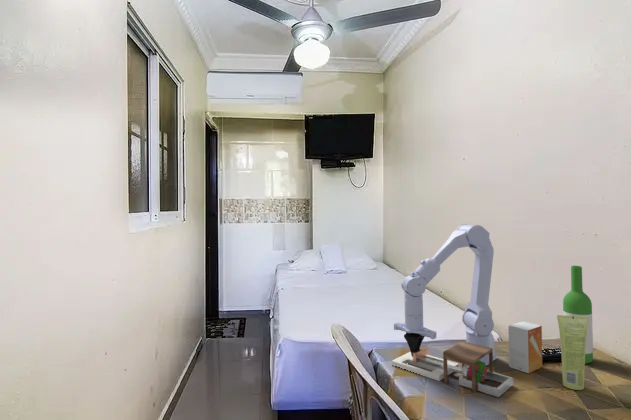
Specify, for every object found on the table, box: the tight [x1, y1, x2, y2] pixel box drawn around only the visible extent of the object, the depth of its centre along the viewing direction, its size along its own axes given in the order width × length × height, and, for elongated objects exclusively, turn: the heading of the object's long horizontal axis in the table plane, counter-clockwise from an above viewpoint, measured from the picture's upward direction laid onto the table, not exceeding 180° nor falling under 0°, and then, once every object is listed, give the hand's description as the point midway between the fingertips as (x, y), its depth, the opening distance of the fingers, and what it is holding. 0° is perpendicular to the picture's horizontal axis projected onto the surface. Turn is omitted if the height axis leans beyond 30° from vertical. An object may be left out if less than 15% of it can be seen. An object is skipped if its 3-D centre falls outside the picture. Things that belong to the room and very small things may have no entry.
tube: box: [556, 314, 588, 391], centre depth 108 cm, size 6×5×20 cm
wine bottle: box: [562, 265, 594, 365], centre depth 126 cm, size 8×8×30 cm
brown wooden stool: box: [442, 340, 494, 394], centre depth 114 cm, size 12×9×9 cm
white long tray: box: [413, 347, 514, 398], centre depth 116 cm, size 10×27×4 cm, turn 44°
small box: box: [507, 320, 543, 374], centre depth 122 cm, size 8×6×13 cm
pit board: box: [391, 351, 460, 382], centre depth 124 cm, size 12×16×2 cm
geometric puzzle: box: [463, 360, 492, 384], centre depth 112 cm, size 7×7×8 cm
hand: (415, 356), depth 127 cm, fingers closed
